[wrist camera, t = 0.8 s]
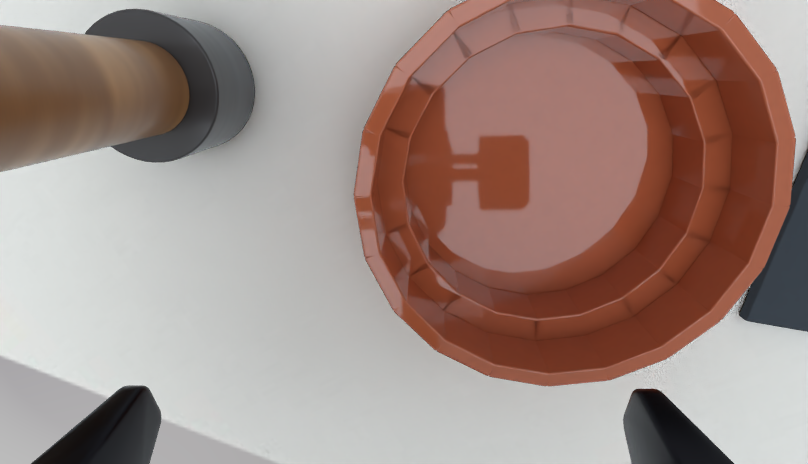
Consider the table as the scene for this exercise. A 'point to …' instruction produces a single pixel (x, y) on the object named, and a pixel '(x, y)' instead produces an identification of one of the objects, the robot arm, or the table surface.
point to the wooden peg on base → (120, 89)
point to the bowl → (574, 182)
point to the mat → (785, 269)
